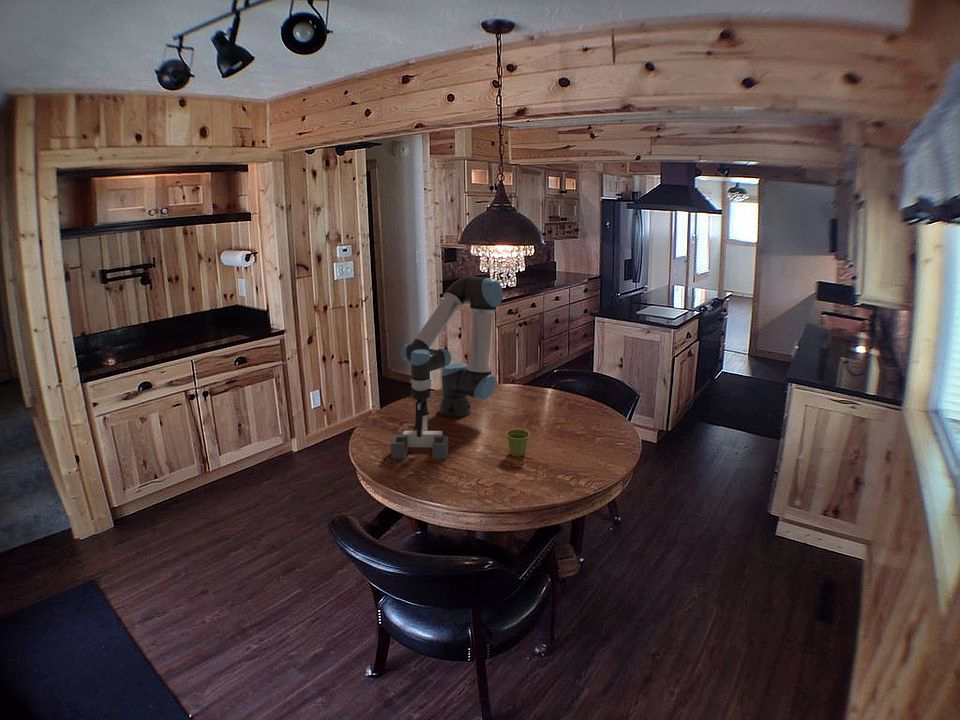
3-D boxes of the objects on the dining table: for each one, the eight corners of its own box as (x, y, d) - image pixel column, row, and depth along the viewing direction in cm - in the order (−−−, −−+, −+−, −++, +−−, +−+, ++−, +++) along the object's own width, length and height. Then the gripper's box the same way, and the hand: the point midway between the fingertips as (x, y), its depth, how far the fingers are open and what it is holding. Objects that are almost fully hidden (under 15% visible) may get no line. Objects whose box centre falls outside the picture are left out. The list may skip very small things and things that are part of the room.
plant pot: (529, 448, 244) (529, 429, 241) (529, 459, 235) (529, 439, 232) (506, 447, 244) (506, 428, 242) (505, 458, 235) (506, 438, 233)
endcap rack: (448, 450, 242) (448, 436, 240) (446, 459, 235) (446, 444, 233) (394, 449, 243) (394, 435, 241) (391, 458, 236) (390, 443, 234)
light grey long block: (442, 444, 248) (442, 430, 247) (441, 447, 245) (441, 434, 243) (404, 443, 249) (403, 430, 247) (403, 447, 246) (402, 434, 244)
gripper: (416, 378, 251) (417, 424, 257) (406, 398, 227) (408, 449, 234) (433, 378, 251) (434, 424, 257) (426, 398, 227) (427, 449, 233)
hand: (421, 436), depth 245 cm, fingers open, 13 cm apart
